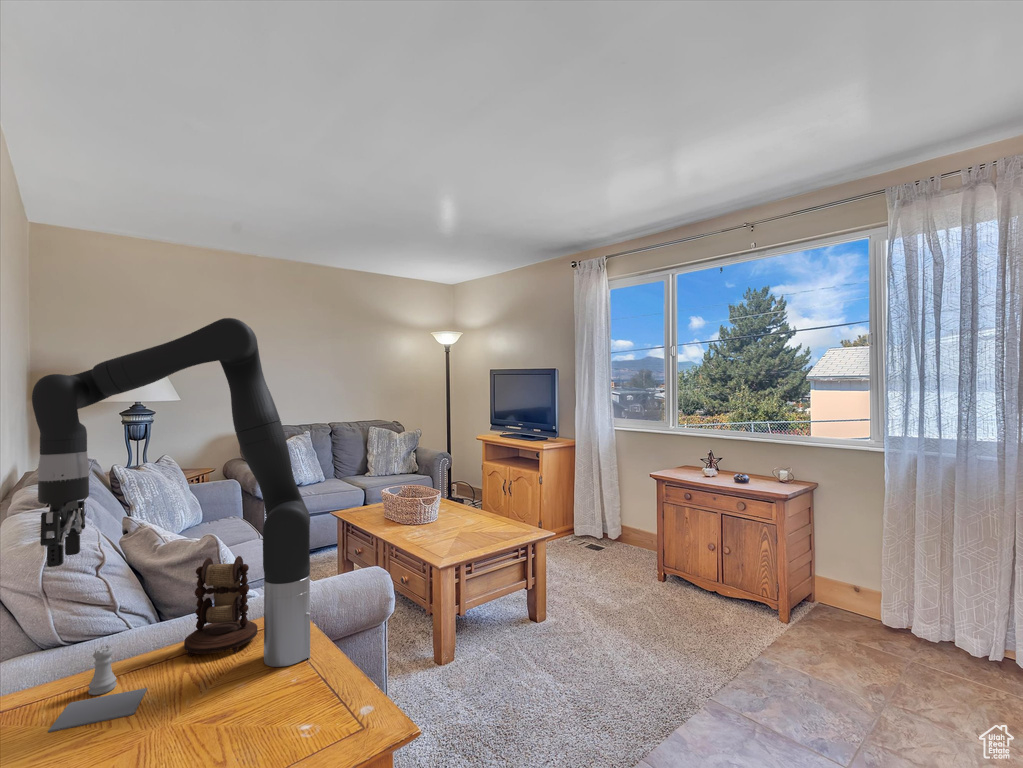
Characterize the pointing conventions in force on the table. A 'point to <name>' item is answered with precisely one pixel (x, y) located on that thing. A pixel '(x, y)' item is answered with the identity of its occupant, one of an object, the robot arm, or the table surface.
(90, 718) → the felt mat
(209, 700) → the table surface
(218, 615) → the wooden spool holder
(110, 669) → the rook chess piece
